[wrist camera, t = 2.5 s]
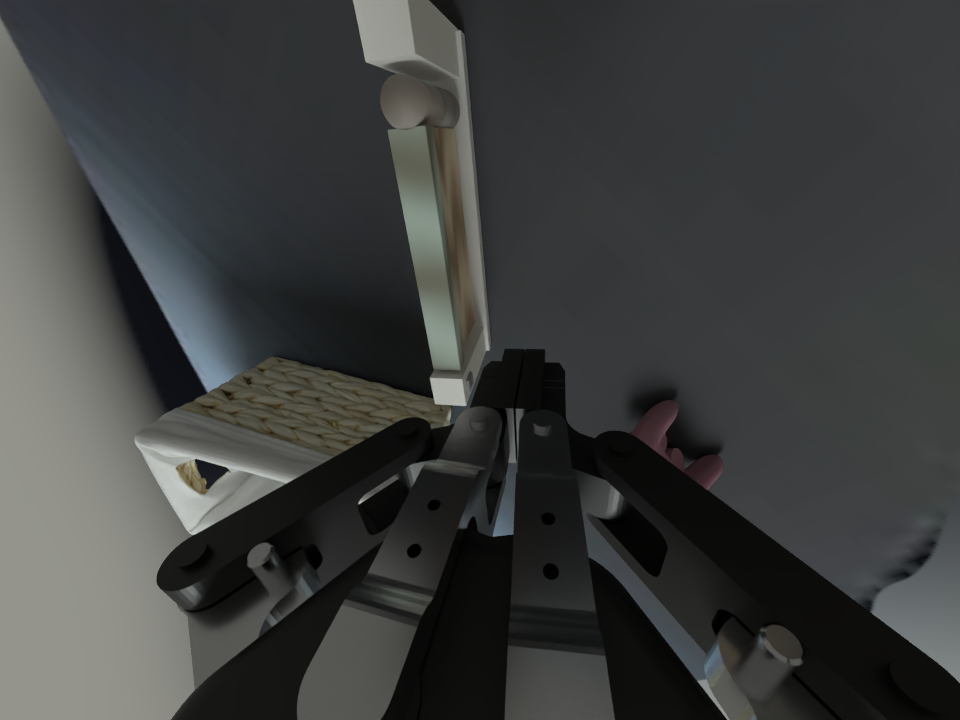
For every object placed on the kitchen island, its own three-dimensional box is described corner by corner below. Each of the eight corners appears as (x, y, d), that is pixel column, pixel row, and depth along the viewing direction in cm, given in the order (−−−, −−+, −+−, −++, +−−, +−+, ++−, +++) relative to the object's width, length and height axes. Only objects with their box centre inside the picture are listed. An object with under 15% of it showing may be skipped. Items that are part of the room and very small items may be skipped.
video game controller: (630, 399, 35) (609, 458, 31) (675, 393, 31) (657, 459, 28) (681, 459, 38) (667, 519, 34) (728, 460, 34) (718, 528, 30)
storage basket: (281, 438, 48) (184, 542, 36) (257, 338, 39) (117, 431, 27) (449, 485, 46) (408, 612, 34) (466, 391, 37) (417, 518, 25)
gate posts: (418, 38, 22) (344, -11, 15) (464, 29, 21) (411, -27, 14) (460, 344, 34) (431, 403, 26) (491, 345, 33) (470, 406, 26)
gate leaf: (424, 92, 22) (375, 77, 16) (457, 87, 22) (419, 70, 16) (457, 325, 31) (432, 369, 25) (481, 325, 30) (461, 370, 25)
